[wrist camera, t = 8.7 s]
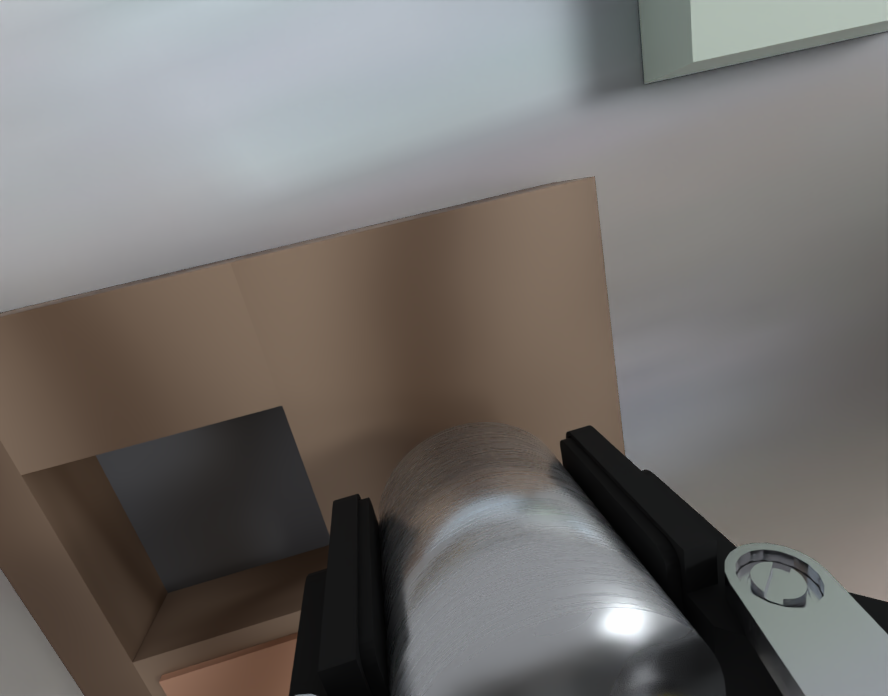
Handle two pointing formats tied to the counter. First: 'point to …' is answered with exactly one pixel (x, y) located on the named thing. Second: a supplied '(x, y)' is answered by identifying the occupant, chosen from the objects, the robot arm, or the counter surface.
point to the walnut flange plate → (274, 422)
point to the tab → (745, 30)
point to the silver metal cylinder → (520, 582)
